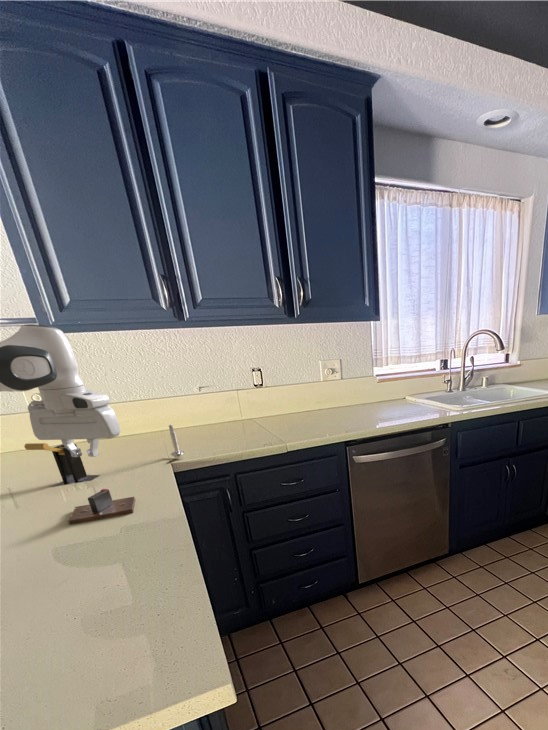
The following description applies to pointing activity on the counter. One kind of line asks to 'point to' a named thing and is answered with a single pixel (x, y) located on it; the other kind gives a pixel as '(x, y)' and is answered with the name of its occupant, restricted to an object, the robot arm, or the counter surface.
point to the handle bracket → (71, 468)
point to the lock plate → (102, 511)
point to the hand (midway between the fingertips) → (85, 456)
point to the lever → (43, 447)
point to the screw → (175, 445)
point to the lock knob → (100, 500)
